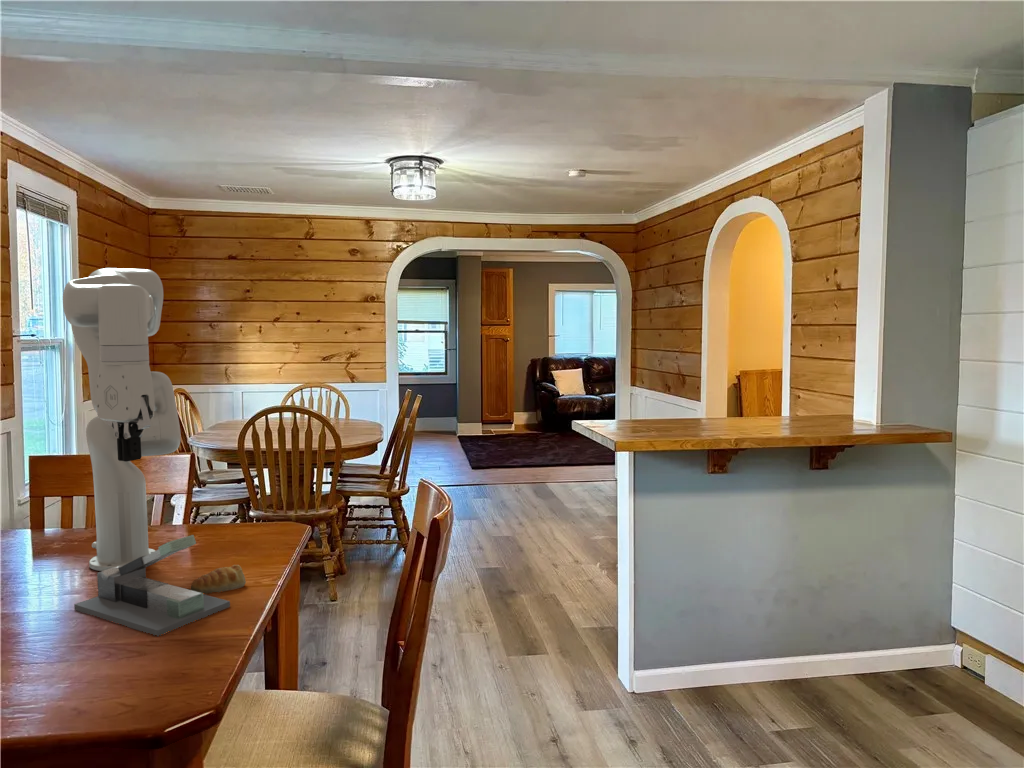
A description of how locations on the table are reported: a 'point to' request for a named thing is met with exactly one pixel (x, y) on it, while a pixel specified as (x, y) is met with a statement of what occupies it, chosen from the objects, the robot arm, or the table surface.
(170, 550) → the bar
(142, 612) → the slate mat
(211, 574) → the pastry
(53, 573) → the table surface
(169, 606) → the stand
